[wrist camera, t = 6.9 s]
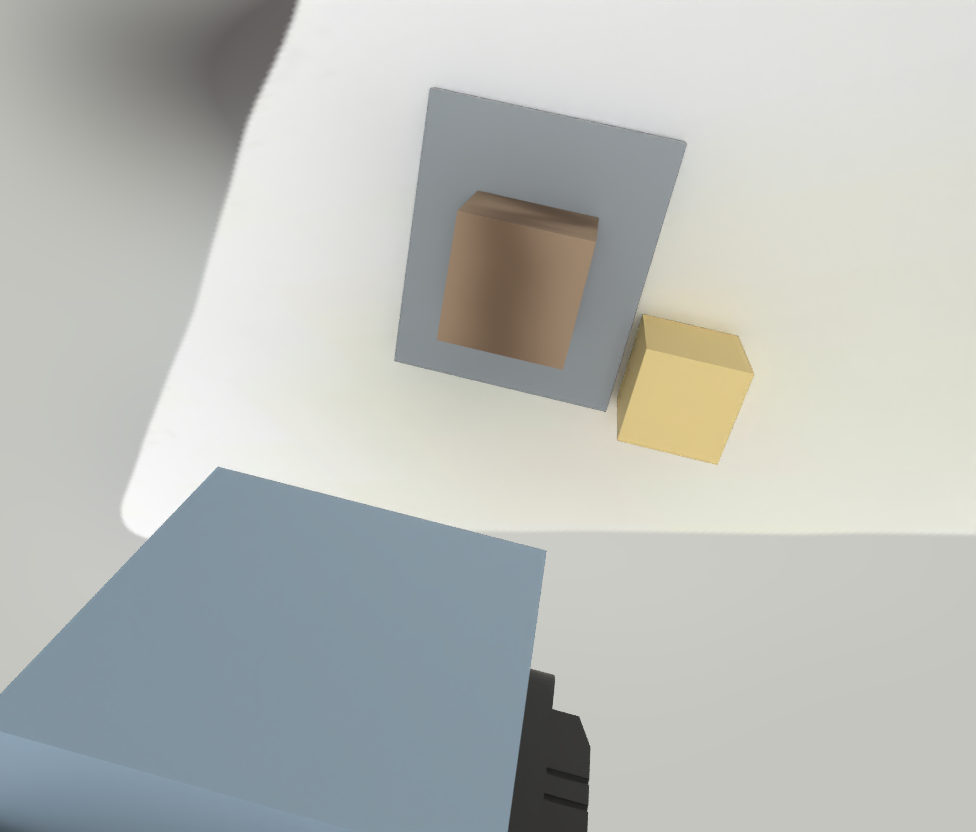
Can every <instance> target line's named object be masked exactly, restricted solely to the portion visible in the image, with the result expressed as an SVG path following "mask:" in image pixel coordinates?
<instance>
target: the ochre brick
mask: <svg viewBox="0 0 976 832" xmlns="http://www.w3.org/2000/svg"><path fill="white" fill-rule="evenodd" d="M753 376H754V372H753V370H752V368H751V365H750V363H749V361H748V358H747V356H746V354H745V351H744V349H743V346H742V344H741V342H740V339H739V337H738V336H735V335H731V334H727V333H723V332H718V331H714V330H710V329H705V328H701V327H697V326H692V325H688V324H684V323H680V322H675V321H671V320H667V319H662V318H658V317H654V316H649V315H645V314H643V316H642V319H641V322H640V326H639V329H638V332H637V335H636V339H635V342H634V345H633V348H632V352H631V355H630V358H629V361H628V365H627V368H626V371H625V374H624V377H623V381H622V384H621V387H620V390H619V394H618V397H617V441H621V442H625V443H630V444H634V445H638V446H642V447H646V448H650V449H654V450H658V451H663V452H667V453H671V454H675V455H679V456H683V457H687V458H691V459H695V460H700V461H704V462H708V463H712V464H716V465H717V464H718V462H719V460H720V457H721V455H722V452H723V450H724V447H725V445H726V442H727V440H728V437H729V435H730V433H731V430H732V428H733V425H734V423H735V420H736V418H737V415H738V413H739V411H740V408H741V406H742V403H743V401H744V398H745V396H746V393H747V391H748V388H749V386H750V384H751V381H752V379H753Z"/></svg>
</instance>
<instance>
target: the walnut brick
mask: <svg viewBox="0 0 976 832" xmlns="http://www.w3.org/2000/svg"><path fill="white" fill-rule="evenodd" d="M598 222H599V218H598V217H594V216H589V215H585V214H581V213H576V212H572V211H567V210H563V209H558V208H554V207H549V206H545V205H540V204H536V203H531V202H527V201H523V200H518V199H514V198H509V197H505V196H500V195H496V194H491V193H487V192H482V191H477V192H476V193H475V194H474V195H473V196H472V197H471V198H470V199H469V200H468V201H467V202H466V203H465V204H464V205H463V206H462V207H461V208H460V209H459V210H458V211H457V216H456V222H455V229H454V235H453V241H452V247H451V254H450V260H449V266H448V272H447V279H446V285H445V291H444V297H443V304H442V310H441V316H440V322H439V329H438V335H437V340H439V341H443V342H447V343H451V344H455V345H460V346H464V347H468V348H472V349H476V350H481V351H485V352H489V353H493V354H497V355H502V356H506V357H510V358H514V359H519V360H523V361H527V362H531V363H535V364H540V365H544V366H548V367H552V368H556V369H561V370H563V368H564V364H565V360H566V356H567V353H568V349H569V345H570V341H571V337H572V333H573V329H574V326H575V322H576V318H577V314H578V310H579V306H580V303H581V299H582V295H583V291H584V287H585V283H586V280H587V276H588V272H589V268H590V264H591V260H592V256H593V253H594V249H595V245H596V240H597V231H598Z"/></svg>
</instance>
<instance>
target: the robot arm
mask: <svg viewBox="0 0 976 832" xmlns="http://www.w3.org/2000/svg"><path fill="white" fill-rule="evenodd" d="M554 685H555V677H554V675H552V674H548V673H544V672H541V671H537V670H533V669H530V674H529V681H528V688H527V695H526V703H525V710H524V717H523V724H522V732H521V739H520V746H519V753H518V761H517V768H516V775H515V782H514V790H513V797H512V804H511V811H510V819H509V826H508V832H587V826H588V812H587V808H588V798H589V785H588V782H589V771H590V769H589V768H590V745H589V742H588V739H587V737H586V734H585V731H584V729H583V726H582V723H581V721H580V718H579V716H576V715H572V714H568V713H565V712H560V711H557V710H553V709H552V705H553V696H554Z"/></svg>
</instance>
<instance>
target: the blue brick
mask: <svg viewBox="0 0 976 832" xmlns="http://www.w3.org/2000/svg"><path fill="white" fill-rule="evenodd" d="M545 558H546V551H545V550H542V549H538V548H534V547H530V546H525V545H522V544H518V543H514V542H510V541H506V540H503V539H499V538H495V537H490V536H487V535H483V534H479V533H475V532H471V531H467V530H463V529H460V528H456V527H452V526H448V525H444V524H440V523H436V522H432V521H428V520H424V519H420V518H416V517H413V516H409V515H405V514H401V513H397V512H393V511H389V510H385V509H381V508H377V507H373V506H370V505H366V504H362V503H358V502H354V501H350V500H346V499H342V498H338V497H334V496H330V495H327V494H323V493H319V492H315V491H311V490H307V489H303V488H299V487H295V486H291V485H287V484H284V483H280V482H276V481H272V480H268V479H264V478H260V477H256V476H252V475H248V474H244V473H241V472H237V471H233V470H229V469H225V468H221V467H217V468H216V469H215V470H214V471H213V472H212V473H211V474H210V476H209V477H208V478H207V479H206V480H205V481H204V482H203V483H202V484H201V485H200V486H199V487H198V488H197V489H196V490H195V491H194V492H193V493H192V494H191V495H190V496H189V497H188V499H187V500H186V501H185V502H184V503H183V504H182V505H181V506H180V507H179V508H178V509H177V510H176V511H175V512H174V513H173V514H172V515H171V516H170V517H169V518H168V519H167V520H166V521H165V523H164V524H163V525H162V526H161V527H160V528H159V529H158V530H157V531H156V532H155V533H154V534H153V535H152V536H151V537H150V538H149V539H148V540H147V541H146V542H145V544H143V545H142V547H141V548H140V549H139V550H138V551H137V552H136V553H135V554H134V555H133V556H132V557H131V558H130V559H129V560H128V561H127V562H126V563H125V564H124V565H123V566H122V567H121V569H120V570H119V571H118V572H117V573H116V574H115V575H114V576H113V577H112V578H111V579H110V580H109V581H108V582H107V583H106V584H105V585H104V587H102V588H101V589H100V590H99V591H98V592H97V594H96V595H95V596H94V597H93V598H92V599H91V600H90V601H89V602H88V603H87V604H86V605H85V606H84V607H83V608H82V609H81V610H80V611H79V612H78V613H77V615H75V617H74V618H73V619H72V620H71V621H70V622H69V623H68V624H67V625H66V626H65V627H64V628H63V629H62V630H61V631H60V633H58V634H57V635H56V636H55V638H53V640H52V641H51V642H50V643H49V644H48V645H47V646H46V647H45V648H44V649H43V650H42V651H41V652H40V653H39V654H38V655H37V656H36V657H35V658H34V659H33V660H32V661H31V662H30V663H29V665H28V666H27V667H26V668H25V669H24V670H23V671H22V672H21V673H20V674H19V675H18V676H17V677H16V678H15V679H14V680H13V681H12V682H11V683H10V684H9V685H8V686H7V688H6V689H5V690H4V691H3V692H2V693H1V694H0V832H508V826H509V819H510V811H511V804H512V797H513V790H514V782H515V775H516V768H517V761H518V753H519V746H520V739H521V732H522V724H523V717H524V710H525V703H526V695H527V688H528V681H529V674H530V666H531V659H532V652H533V645H534V637H535V629H536V623H537V616H538V608H539V601H540V594H541V587H542V579H543V572H544V565H545Z"/></svg>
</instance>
